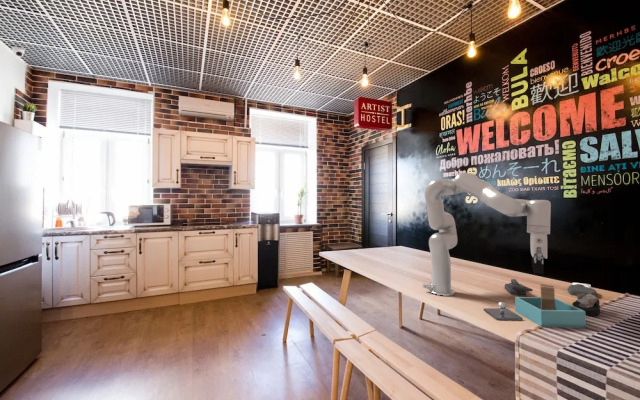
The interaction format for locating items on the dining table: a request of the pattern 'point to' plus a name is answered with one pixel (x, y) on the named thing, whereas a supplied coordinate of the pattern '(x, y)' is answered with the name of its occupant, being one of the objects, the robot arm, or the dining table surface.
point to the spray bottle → (580, 289)
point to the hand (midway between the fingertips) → (537, 270)
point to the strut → (547, 298)
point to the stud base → (502, 313)
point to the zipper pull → (516, 288)
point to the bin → (550, 313)
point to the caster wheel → (588, 304)
